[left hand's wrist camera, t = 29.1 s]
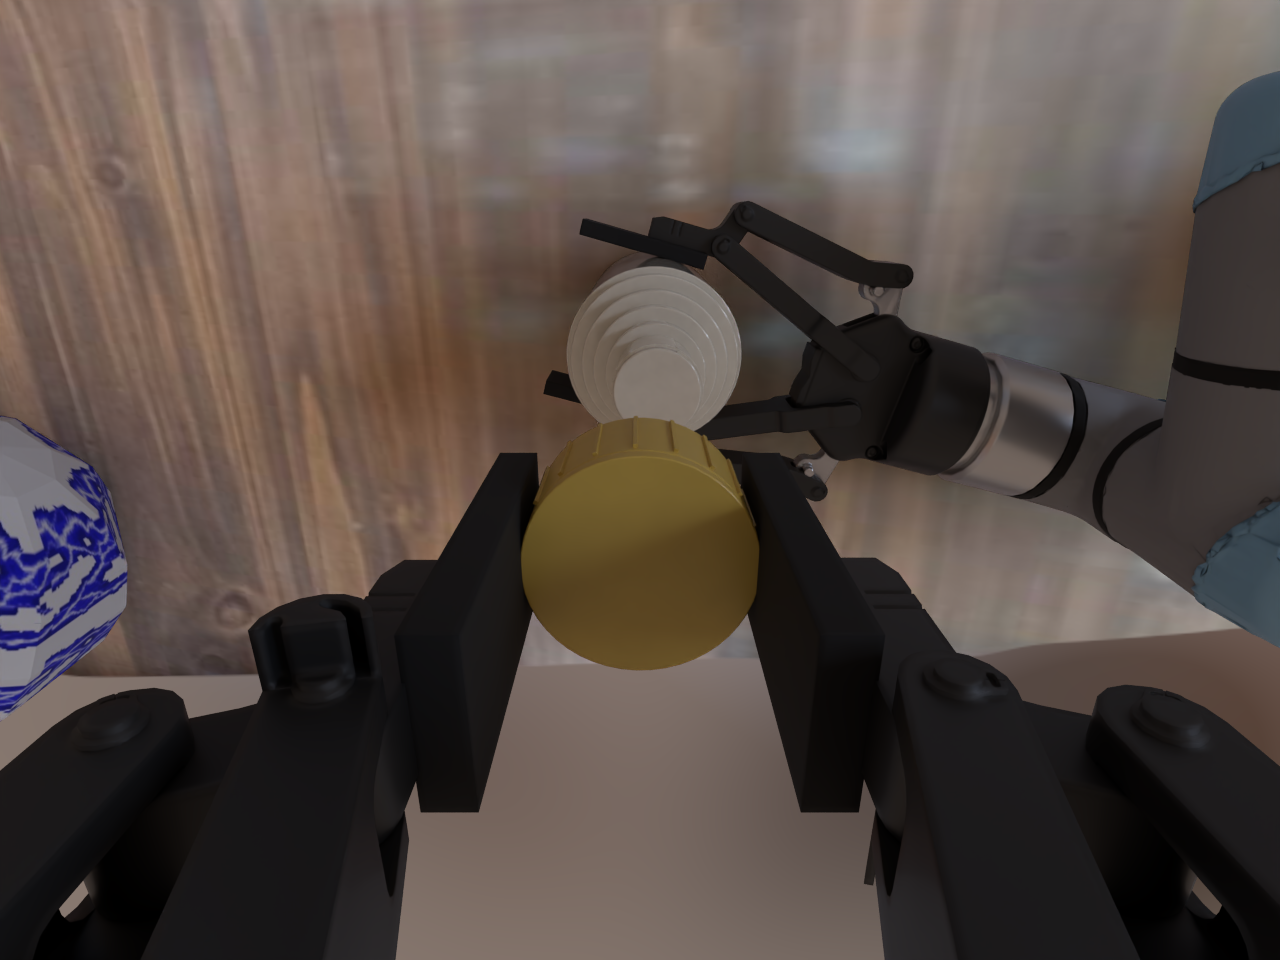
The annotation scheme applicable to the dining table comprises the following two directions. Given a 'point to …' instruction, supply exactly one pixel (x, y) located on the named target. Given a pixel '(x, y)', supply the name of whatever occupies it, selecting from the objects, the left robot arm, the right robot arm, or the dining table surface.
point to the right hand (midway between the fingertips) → (565, 307)
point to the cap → (640, 546)
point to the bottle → (653, 344)
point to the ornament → (52, 562)
